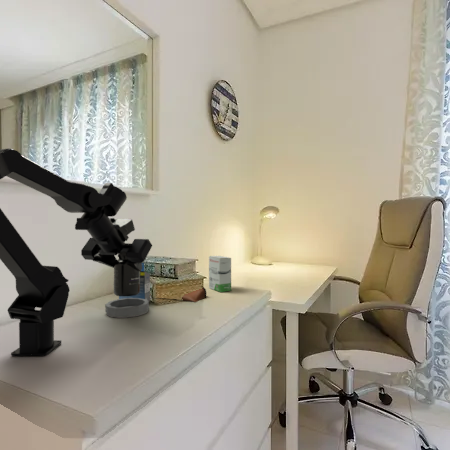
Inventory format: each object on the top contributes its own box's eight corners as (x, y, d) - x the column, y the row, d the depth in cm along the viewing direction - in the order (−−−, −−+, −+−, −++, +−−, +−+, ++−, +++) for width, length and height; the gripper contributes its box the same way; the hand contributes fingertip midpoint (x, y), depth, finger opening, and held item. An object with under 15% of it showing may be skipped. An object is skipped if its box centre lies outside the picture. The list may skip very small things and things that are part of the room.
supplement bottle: (137, 296, 87) (137, 251, 87) (110, 297, 86) (111, 251, 86) (141, 291, 94) (141, 248, 93) (116, 291, 93) (116, 249, 93)
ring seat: (142, 317, 85) (142, 308, 85) (99, 317, 85) (99, 308, 84) (152, 306, 96) (152, 297, 96) (113, 306, 96) (113, 298, 96)
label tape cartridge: (150, 300, 102) (150, 261, 102) (144, 304, 98) (144, 262, 98) (125, 299, 104) (124, 260, 104) (118, 302, 100) (117, 261, 100)
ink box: (232, 291, 116) (232, 257, 116) (219, 292, 113) (219, 258, 113) (219, 286, 123) (219, 254, 123) (208, 288, 121) (208, 255, 121)
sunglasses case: (144, 297, 105) (150, 278, 108) (154, 304, 111) (159, 285, 114) (197, 302, 100) (201, 281, 103) (204, 309, 106) (208, 289, 109)
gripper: (148, 207, 83) (170, 248, 93) (89, 207, 89) (116, 246, 100) (128, 240, 75) (154, 280, 86) (65, 238, 82) (97, 276, 92)
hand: (130, 269), depth 91 cm, fingers closed on supplement bottle, 7 cm apart
